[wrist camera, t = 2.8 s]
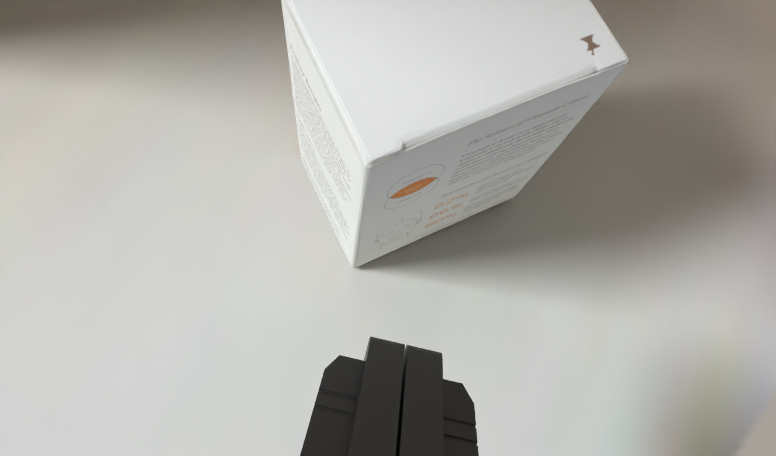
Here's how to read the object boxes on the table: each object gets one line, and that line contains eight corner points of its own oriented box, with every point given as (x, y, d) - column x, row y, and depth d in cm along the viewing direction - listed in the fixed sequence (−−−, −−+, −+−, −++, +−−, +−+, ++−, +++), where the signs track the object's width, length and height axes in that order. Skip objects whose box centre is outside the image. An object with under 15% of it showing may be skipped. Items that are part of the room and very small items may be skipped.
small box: (458, 96, 26) (536, -98, 16) (516, 200, 25) (641, 57, 15) (296, 157, 25) (274, -18, 15) (349, 273, 23) (365, 166, 13)
